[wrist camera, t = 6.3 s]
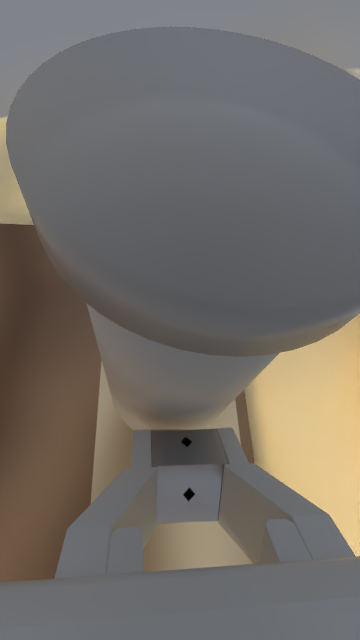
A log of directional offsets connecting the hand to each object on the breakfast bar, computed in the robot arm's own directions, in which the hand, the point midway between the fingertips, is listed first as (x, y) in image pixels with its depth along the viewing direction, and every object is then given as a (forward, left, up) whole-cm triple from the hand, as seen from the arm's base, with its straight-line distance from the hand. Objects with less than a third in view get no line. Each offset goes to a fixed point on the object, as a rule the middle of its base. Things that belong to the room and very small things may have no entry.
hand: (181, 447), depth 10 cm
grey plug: (0, +3, -3) cm, 5 cm away
